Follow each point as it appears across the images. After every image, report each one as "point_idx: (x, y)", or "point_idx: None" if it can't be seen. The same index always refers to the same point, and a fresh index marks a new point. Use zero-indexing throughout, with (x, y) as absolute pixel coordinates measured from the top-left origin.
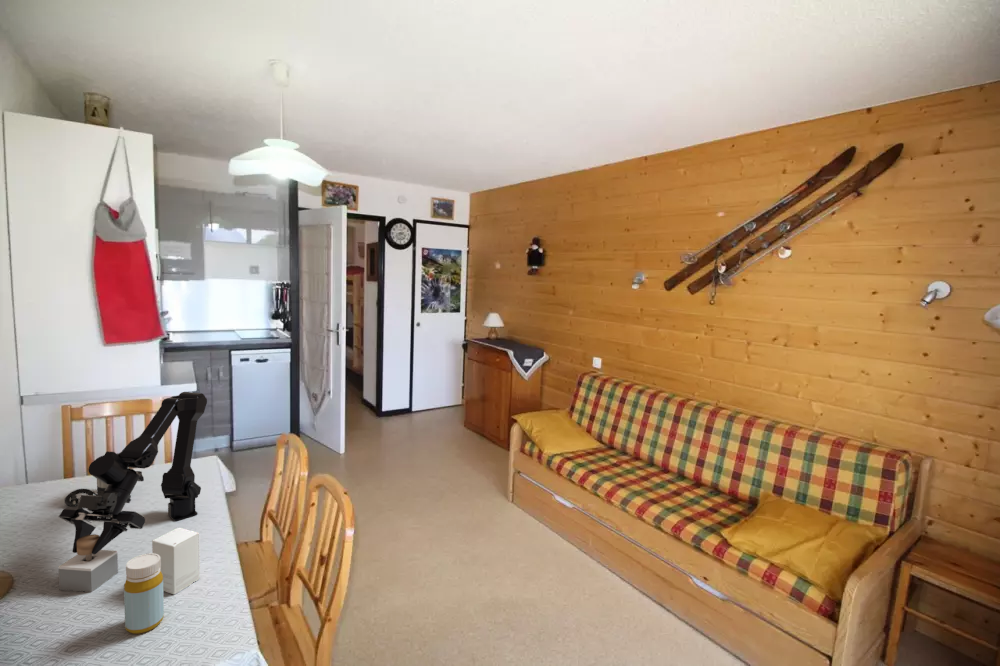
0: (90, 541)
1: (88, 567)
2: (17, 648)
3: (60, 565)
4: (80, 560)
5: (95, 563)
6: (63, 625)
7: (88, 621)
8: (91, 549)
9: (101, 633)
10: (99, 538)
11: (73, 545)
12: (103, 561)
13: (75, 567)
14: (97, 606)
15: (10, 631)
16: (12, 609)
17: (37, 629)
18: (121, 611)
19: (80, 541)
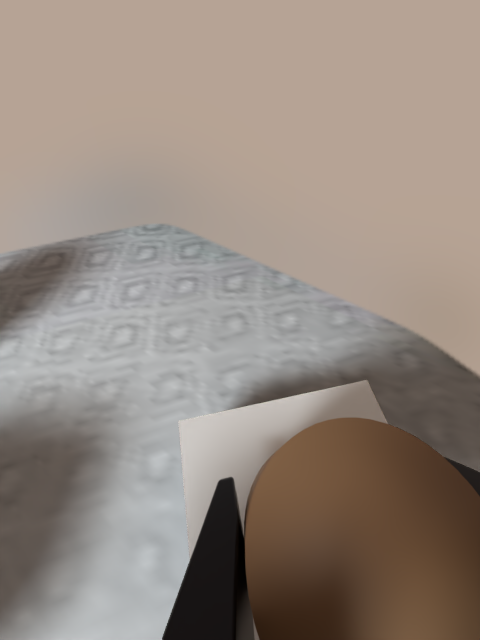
0: (277, 506)
1: (205, 427)
2: (172, 235)
3: (369, 389)
4: None
5: (204, 479)
6: (139, 300)
7: (83, 328)
8: (250, 493)
9: (13, 306)
10: (214, 629)
11: (447, 458)
12: (189, 536)
13: (274, 402)
14: (109, 384)
15: (242, 258)
16: (337, 303)
17: (189, 276)
18: (7, 389)
19: (388, 460)
